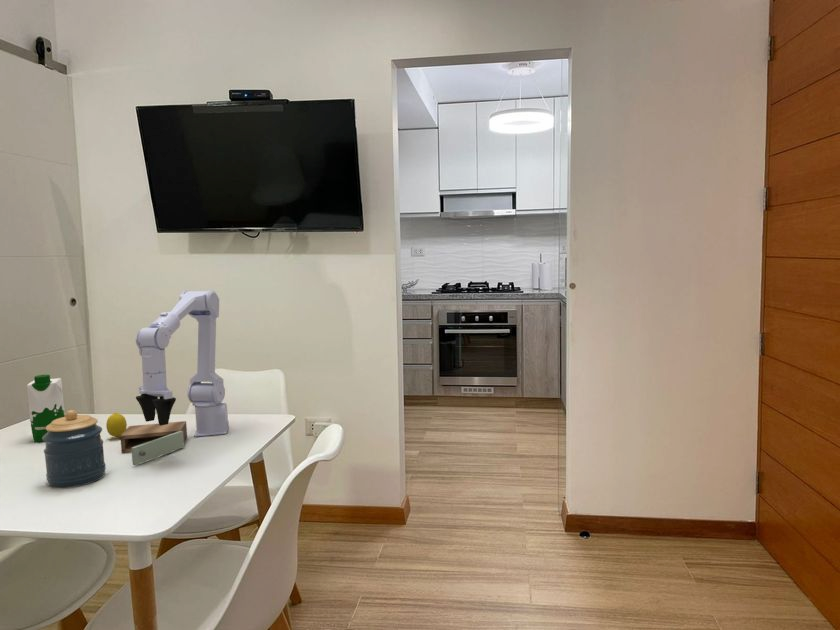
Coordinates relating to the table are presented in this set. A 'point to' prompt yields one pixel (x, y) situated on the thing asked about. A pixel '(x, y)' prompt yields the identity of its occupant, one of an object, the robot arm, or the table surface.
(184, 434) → the cabinet
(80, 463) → the canister
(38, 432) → the milk carton
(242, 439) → the table surface
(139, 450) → the door
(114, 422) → the lemon
